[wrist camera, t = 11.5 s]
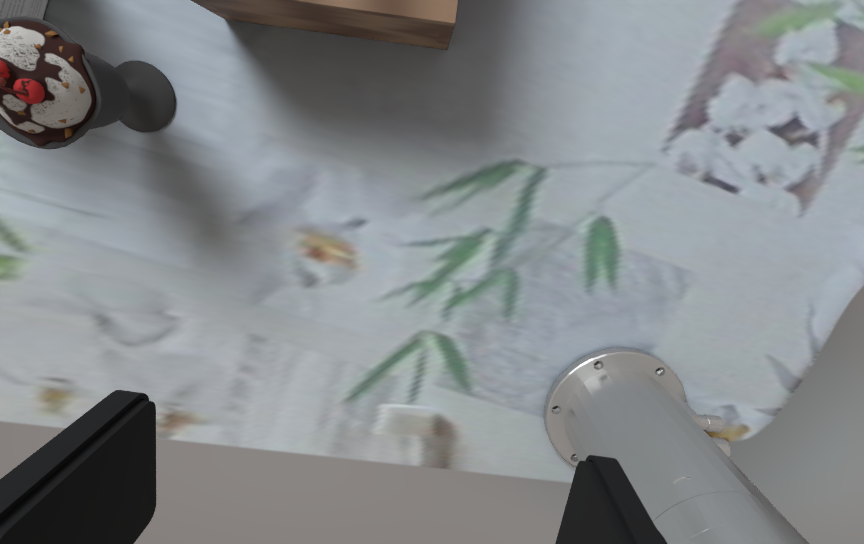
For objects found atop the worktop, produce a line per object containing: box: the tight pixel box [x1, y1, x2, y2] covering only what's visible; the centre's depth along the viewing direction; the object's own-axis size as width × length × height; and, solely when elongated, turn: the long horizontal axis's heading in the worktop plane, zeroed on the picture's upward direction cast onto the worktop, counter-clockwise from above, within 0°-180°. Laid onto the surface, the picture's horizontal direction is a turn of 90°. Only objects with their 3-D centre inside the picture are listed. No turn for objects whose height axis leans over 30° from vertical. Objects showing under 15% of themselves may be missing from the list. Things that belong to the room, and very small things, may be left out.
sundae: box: [0, 16, 175, 149], centre depth 28 cm, size 7×7×15 cm
